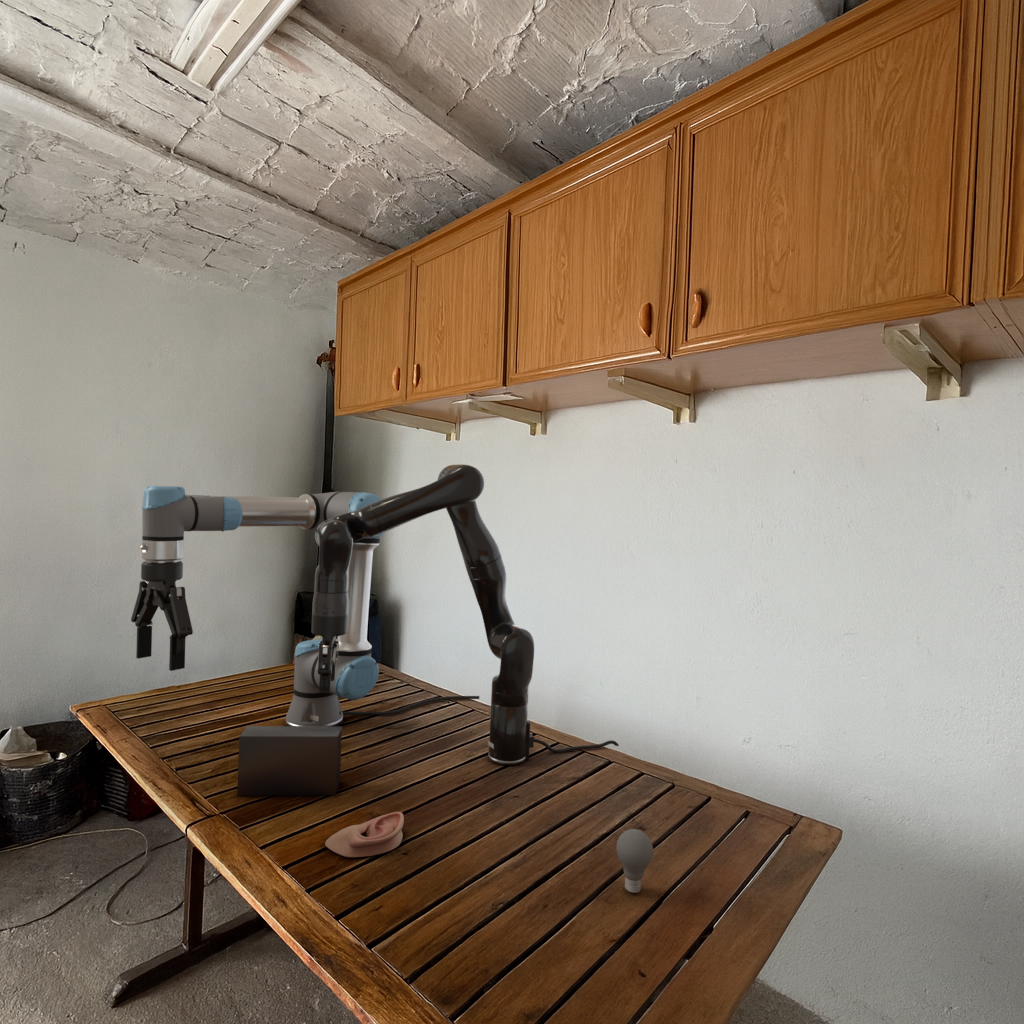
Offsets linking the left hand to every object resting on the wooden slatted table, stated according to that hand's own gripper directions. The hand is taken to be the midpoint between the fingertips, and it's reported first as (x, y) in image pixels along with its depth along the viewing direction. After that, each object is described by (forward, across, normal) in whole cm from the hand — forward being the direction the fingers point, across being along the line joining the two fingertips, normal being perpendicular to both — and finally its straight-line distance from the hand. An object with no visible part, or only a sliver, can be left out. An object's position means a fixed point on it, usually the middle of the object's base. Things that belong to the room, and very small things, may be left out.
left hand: (159, 663), depth 131 cm
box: (+28, +18, +19) cm, 38 cm away
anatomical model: (+28, +47, +15) cm, 56 cm away
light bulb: (+28, +92, +32) cm, 102 cm away
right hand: (+5, +24, +24) cm, 34 cm away
